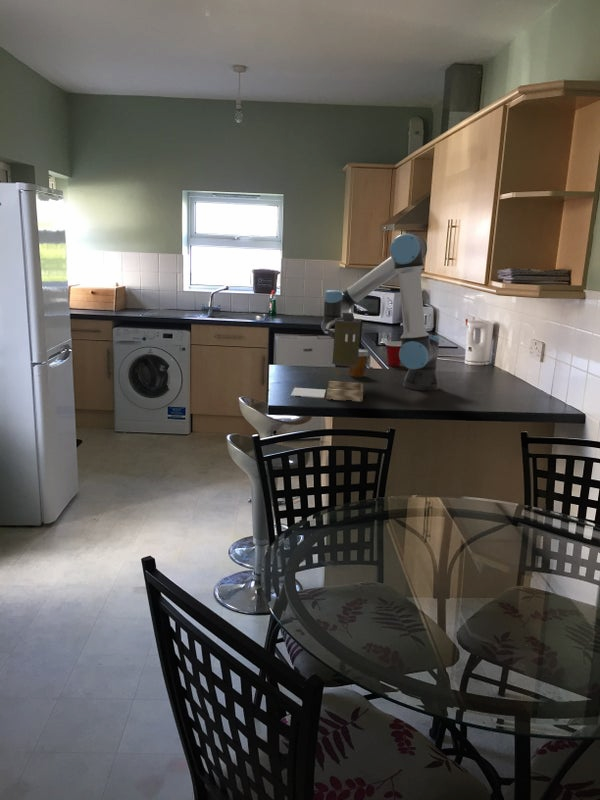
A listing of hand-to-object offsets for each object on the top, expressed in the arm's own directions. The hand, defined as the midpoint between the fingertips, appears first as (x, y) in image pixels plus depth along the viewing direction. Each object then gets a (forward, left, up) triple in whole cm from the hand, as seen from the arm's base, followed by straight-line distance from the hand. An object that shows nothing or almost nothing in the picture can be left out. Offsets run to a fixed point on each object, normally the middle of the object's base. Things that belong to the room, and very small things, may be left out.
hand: (350, 338), depth 250 cm
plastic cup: (-22, -83, -24) cm, 89 cm away
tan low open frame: (+1, -5, -24) cm, 25 cm away
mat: (+15, -5, -24) cm, 29 cm away
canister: (+1, -5, -11) cm, 12 cm away
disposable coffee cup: (-4, -49, -24) cm, 55 cm away
